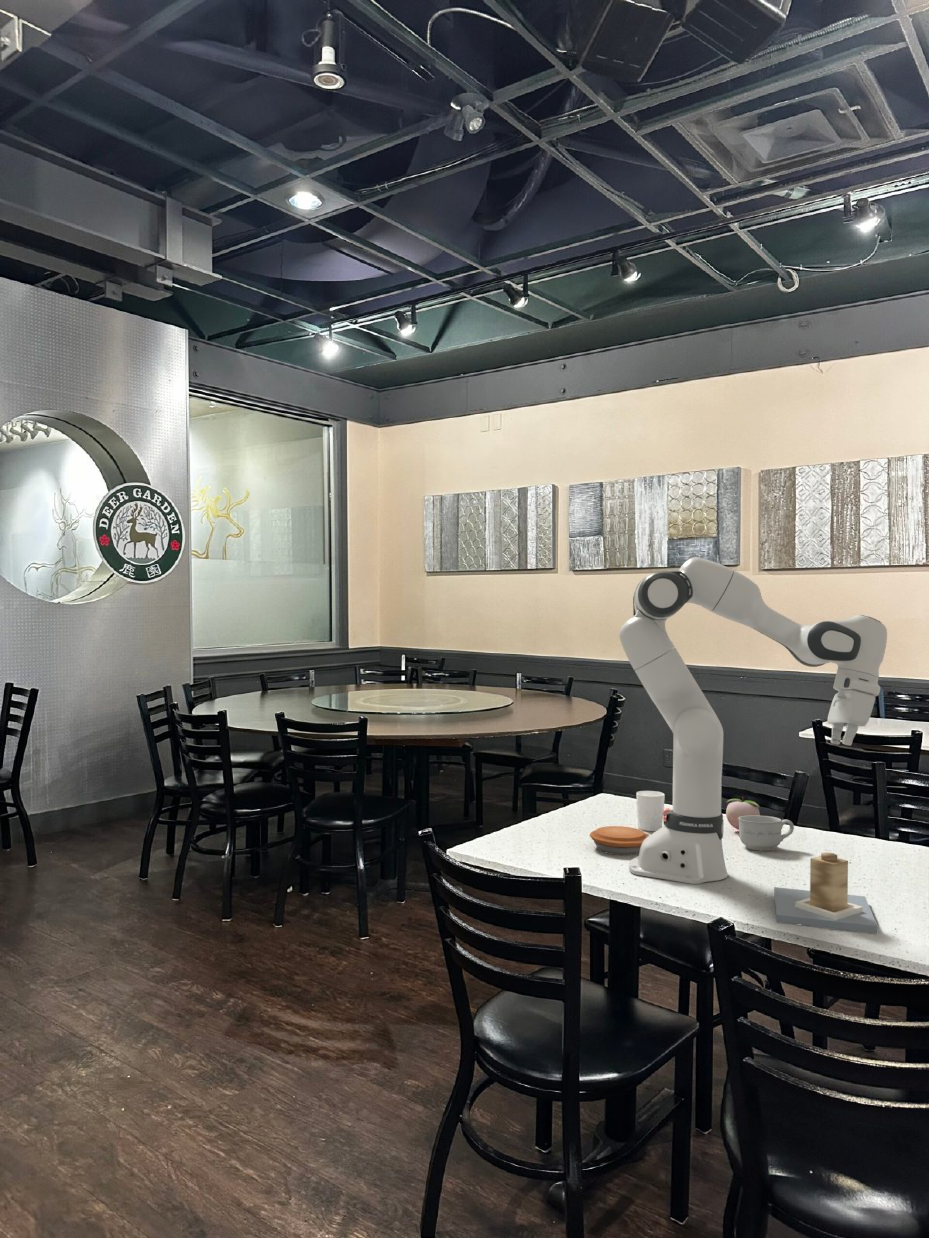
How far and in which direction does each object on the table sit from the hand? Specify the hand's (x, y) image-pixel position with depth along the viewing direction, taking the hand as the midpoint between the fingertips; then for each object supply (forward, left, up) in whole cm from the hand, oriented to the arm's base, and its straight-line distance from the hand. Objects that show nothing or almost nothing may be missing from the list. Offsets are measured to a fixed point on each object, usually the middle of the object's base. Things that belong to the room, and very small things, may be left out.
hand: (840, 744), depth 195 cm
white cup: (-46, +35, -32) cm, 66 cm away
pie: (-51, +10, -32) cm, 61 cm away
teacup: (-15, +24, -32) cm, 42 cm away
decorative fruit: (-21, +40, -32) cm, 55 cm away
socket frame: (-4, -27, -30) cm, 40 cm away
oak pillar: (-4, -27, -30) cm, 40 cm away
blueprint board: (-5, -24, -31) cm, 40 cm away
